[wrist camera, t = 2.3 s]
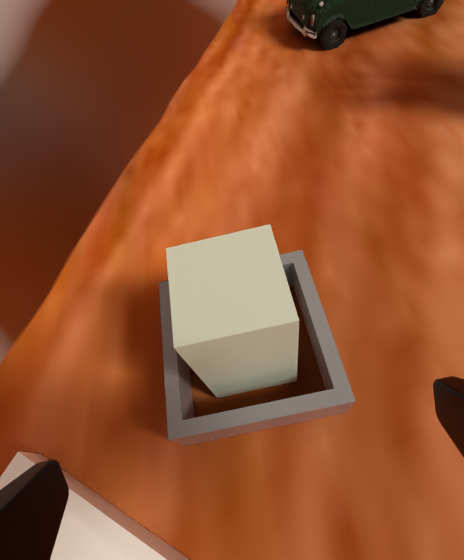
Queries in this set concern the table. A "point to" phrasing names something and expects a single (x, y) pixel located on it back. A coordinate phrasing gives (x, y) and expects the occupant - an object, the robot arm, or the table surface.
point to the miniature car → (348, 15)
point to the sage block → (234, 311)
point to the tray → (94, 524)
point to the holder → (264, 415)
